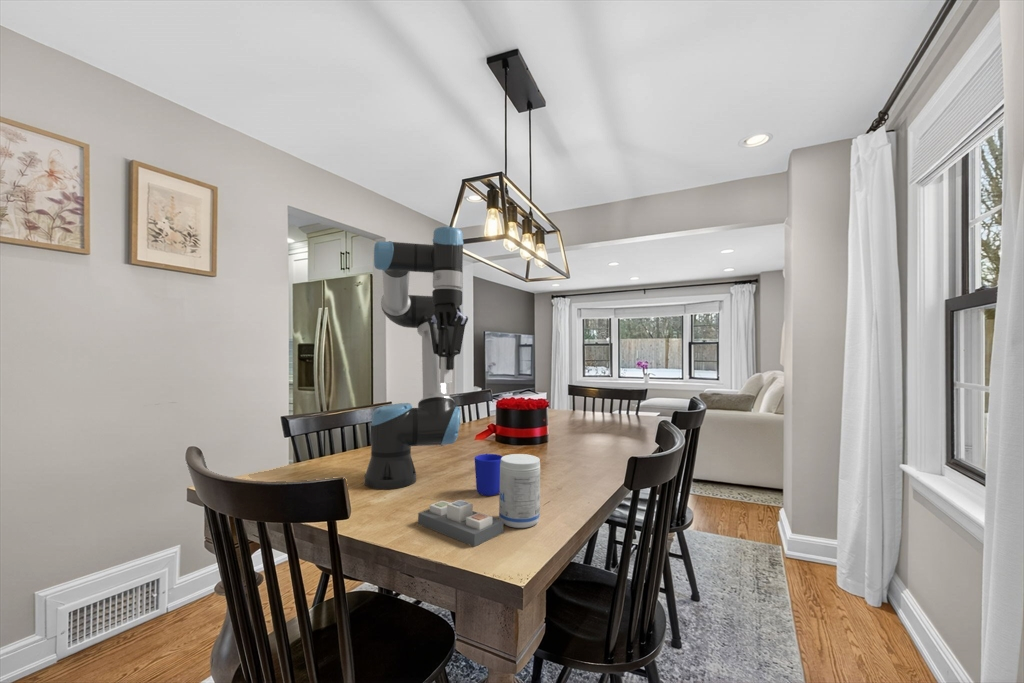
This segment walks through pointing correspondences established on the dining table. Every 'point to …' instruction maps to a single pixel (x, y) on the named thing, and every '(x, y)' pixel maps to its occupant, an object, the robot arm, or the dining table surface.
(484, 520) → the key
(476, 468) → the mug
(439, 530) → the keypad base
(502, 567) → the dining table surface
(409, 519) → the dining table surface
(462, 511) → the key
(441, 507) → the key
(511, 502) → the supplement tub
